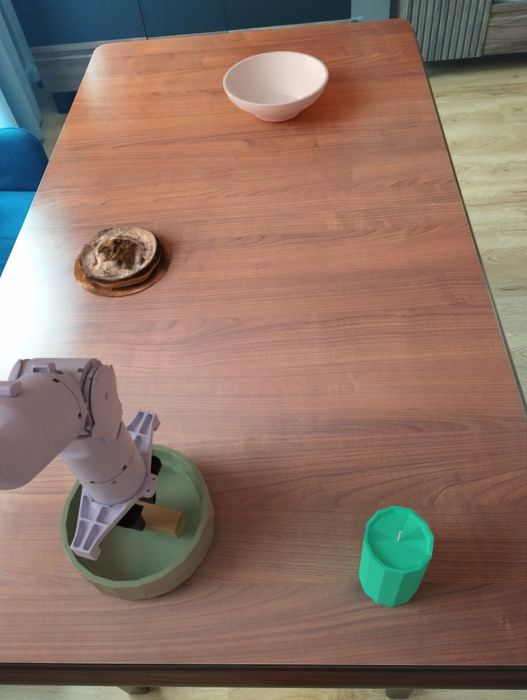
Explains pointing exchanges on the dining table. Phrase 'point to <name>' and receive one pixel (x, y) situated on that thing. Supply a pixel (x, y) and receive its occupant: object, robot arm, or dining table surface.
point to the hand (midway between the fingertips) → (140, 514)
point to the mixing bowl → (149, 536)
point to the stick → (162, 520)
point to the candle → (394, 555)
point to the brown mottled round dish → (122, 261)
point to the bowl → (276, 84)
